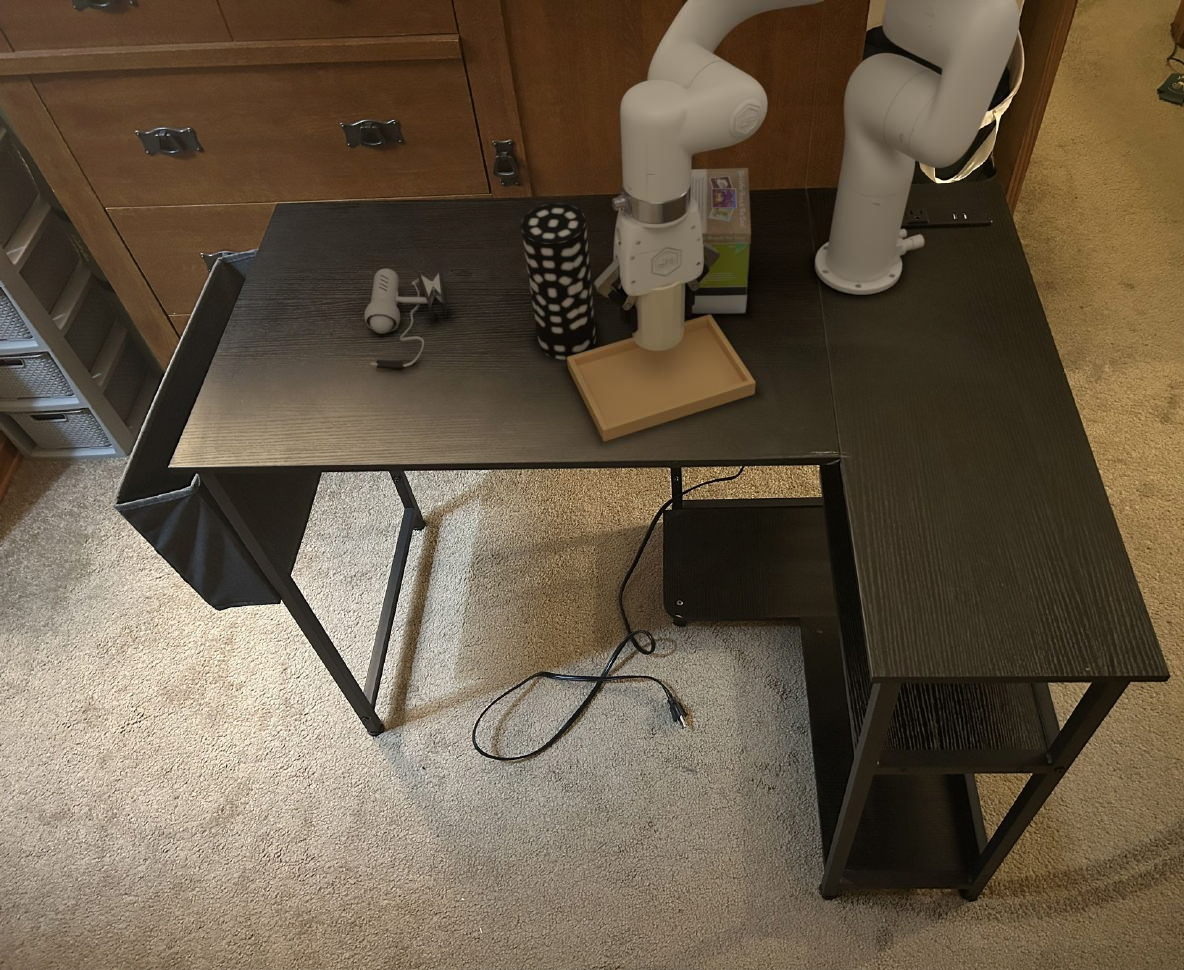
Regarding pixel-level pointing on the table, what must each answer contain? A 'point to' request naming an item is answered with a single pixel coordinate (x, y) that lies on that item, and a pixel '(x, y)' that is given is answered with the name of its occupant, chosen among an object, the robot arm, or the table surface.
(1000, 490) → the table surface
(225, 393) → the table surface
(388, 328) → the clip-on lamp
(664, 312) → the cup
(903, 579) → the table surface
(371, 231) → the table surface
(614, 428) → the tray
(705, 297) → the tea box
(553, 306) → the spotted tube
